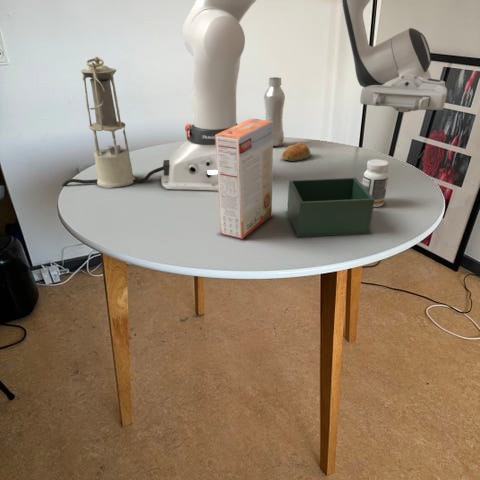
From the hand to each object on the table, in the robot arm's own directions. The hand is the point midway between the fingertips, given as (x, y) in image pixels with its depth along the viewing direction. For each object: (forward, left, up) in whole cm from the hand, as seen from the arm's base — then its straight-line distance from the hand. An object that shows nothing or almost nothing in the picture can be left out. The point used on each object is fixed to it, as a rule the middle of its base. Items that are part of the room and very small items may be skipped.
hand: (396, 103), depth 108 cm
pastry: (-18, +28, -20) cm, 39 cm away
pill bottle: (-6, -10, -20) cm, 24 cm away
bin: (-20, -20, -20) cm, 35 cm away
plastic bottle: (-23, +42, -20) cm, 52 cm away
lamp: (-71, +12, -20) cm, 75 cm away
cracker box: (-38, -19, -20) cm, 47 cm away
